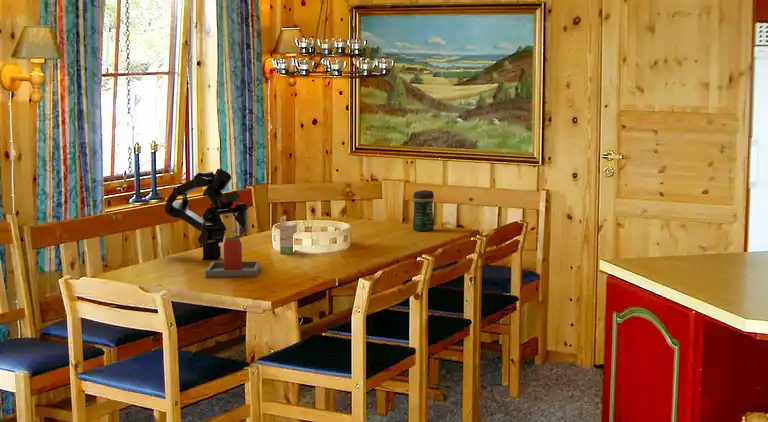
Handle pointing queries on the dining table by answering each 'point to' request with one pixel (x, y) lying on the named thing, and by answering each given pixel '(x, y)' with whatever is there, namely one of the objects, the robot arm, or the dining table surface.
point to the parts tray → (247, 270)
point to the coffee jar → (423, 210)
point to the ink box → (286, 236)
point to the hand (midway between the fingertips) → (235, 228)
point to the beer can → (232, 254)
